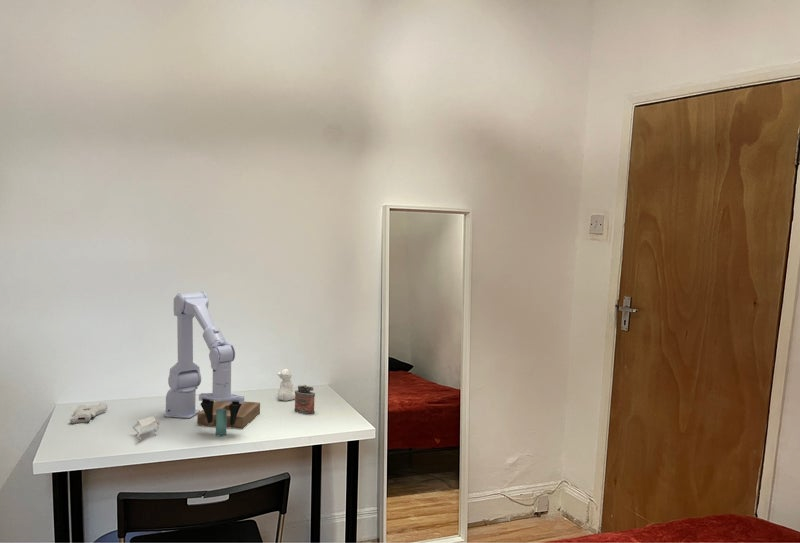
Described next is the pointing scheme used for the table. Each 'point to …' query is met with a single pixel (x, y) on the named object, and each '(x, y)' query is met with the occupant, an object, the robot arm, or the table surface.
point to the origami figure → (145, 424)
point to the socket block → (242, 419)
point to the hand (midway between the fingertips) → (221, 423)
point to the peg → (221, 421)
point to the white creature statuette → (285, 386)
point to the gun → (87, 412)
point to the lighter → (304, 400)
